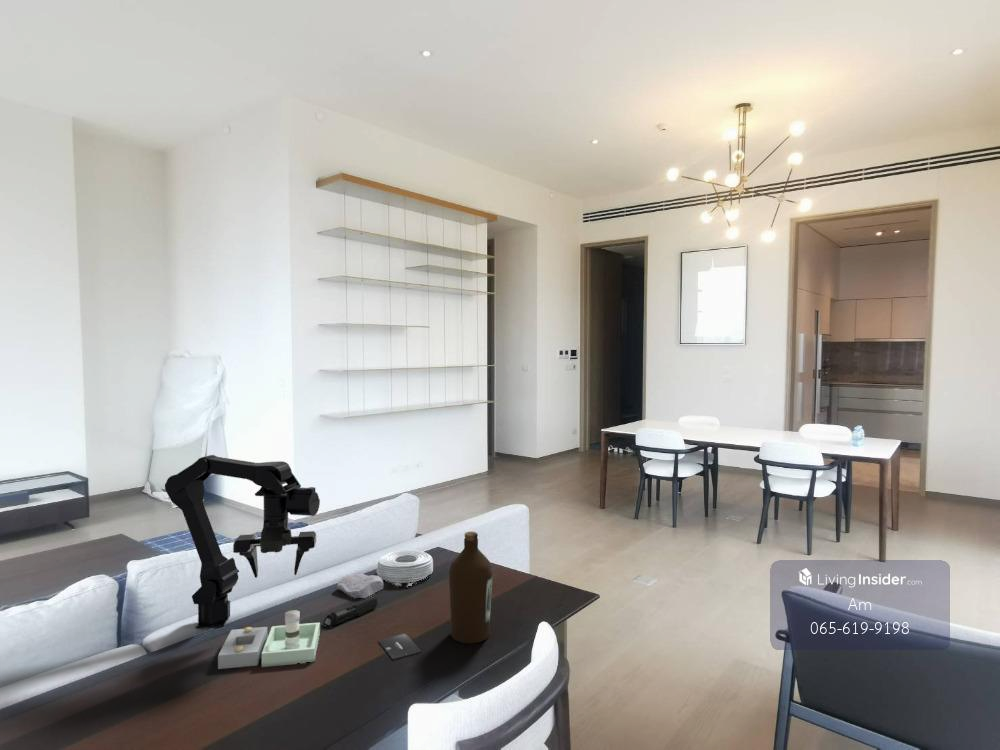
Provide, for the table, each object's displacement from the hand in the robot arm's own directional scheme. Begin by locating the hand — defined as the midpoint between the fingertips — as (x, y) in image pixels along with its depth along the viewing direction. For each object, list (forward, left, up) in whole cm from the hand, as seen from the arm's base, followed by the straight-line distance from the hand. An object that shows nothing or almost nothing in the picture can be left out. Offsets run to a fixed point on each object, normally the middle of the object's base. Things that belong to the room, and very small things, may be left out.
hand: (276, 575), depth 144 cm
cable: (+33, +30, -14) cm, 46 cm away
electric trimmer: (+18, +3, -14) cm, 23 cm away
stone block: (+19, +19, -14) cm, 31 cm away
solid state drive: (+30, -16, -14) cm, 36 cm away
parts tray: (+5, -12, -13) cm, 19 cm away
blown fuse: (+5, -12, -12) cm, 18 cm away
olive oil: (+47, -13, -13) cm, 51 cm away
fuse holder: (-5, -12, -13) cm, 18 cm away
